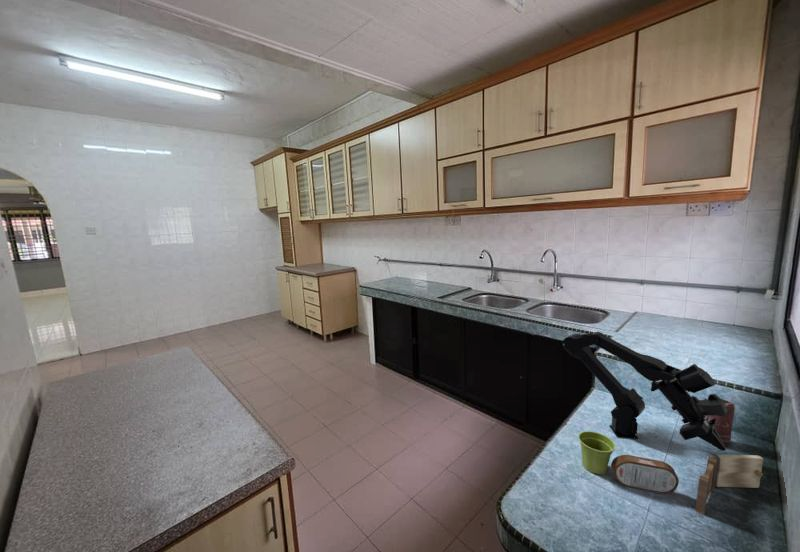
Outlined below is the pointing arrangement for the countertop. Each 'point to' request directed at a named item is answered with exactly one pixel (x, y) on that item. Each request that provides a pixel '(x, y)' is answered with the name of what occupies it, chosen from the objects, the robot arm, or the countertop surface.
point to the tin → (644, 474)
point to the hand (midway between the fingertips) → (723, 449)
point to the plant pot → (595, 451)
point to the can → (724, 423)
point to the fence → (706, 485)
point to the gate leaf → (738, 470)
